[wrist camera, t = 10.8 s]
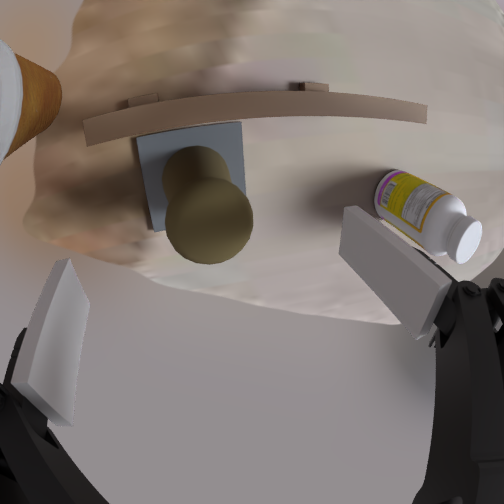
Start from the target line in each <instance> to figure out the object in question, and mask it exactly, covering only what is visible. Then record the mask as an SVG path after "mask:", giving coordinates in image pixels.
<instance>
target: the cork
mask: <svg viewBox="0 0 504 504" xmlns="http://www.w3.org/2000/svg"><path fill="white" fill-rule="evenodd" d="M162 185H163V190H164V193H165V195H166V198H167V200H168V203H169V204H168V206H167V210H166V216H165V228H166V233H167V237H168V239H169V240H170V242H171V244H172V246H173V247H174V249H175V250H176V251H177V252H178V253H179V254H180V255H182V256H183V257H184V258H185V259H188V260H190V261H193V262H195V263H200V264H209V265H210V264H216V263H222V262H224V261H226V260H228V259H231V258H232V257H234V256H235V255H236V254H237V253H238V252H240V251H241V250H242V249H243V247H244V246H245V244H246V243H247V242H248V240H249V239H250V235H251V232H252V229H253V211H252V208H251V205H250V203H249V200H248V198H247V197H246V196H245V195H244V193H243V192H242V191H241V190H240V189H239V188H238V187H237V186H236V185H234V184H233V183H232V181H231V177H230V173H229V169H228V167H227V164H226V162H225V160H224V159H223V158H222V156H221V155H220V154H219V153H218V152H216V151H214V150H213V149H211V148H209V147H204V146H199V145H197V146H189V147H186V148H183V149H181V150H179V151H177V152H176V153H175V154H174V155H173V156H172V157H171V158H169V160H168V162H167V163H166V165H165V167H164V169H163V174H162Z"/></svg>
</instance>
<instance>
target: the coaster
mask: <svg viewBox="0 0 504 504" xmlns="http://www.w3.org/2000/svg"><path fill="white" fill-rule="evenodd" d="M137 145H138V151H139V157H140V163H141V169H142V175H143V180H144V185H145V191H146V196H147V201H148V205H149V210H150V215H151V219H152V224H153V228H154V232H158V231H164V230H166V228H165V216H166V210H167V206H168V204H169V203H168V200H167V198H166V195H165V193H164V190H163V185H162V174H163V169H164V167H165V165H166V163H167V162H168V160H169V158H171V157H172V156H173V155H174V154H175V153H176V152H177V151H179V150H181V149H183V148H186V147H189V146H197V145H199V146H204V147H209V148H211V149H213V150H214V151H216V152H218V153H219V154H220V155H221V156H222V158H223V159H224V160H225V162H226V164H227V167H228V169H229V173H230V177H231V181H232V183H233V184H234V185H236V186H237V187H238V188H239V189H240V190H241V191H242V192H243V193H244V195H245V196H246V187H245V172H244V156H243V141H242V125H241V122H230V123H220V124H212V125H204V126H196V127H189V128H183V129H177V130H171V131H165V132H159V133H154V134H149V135H144V136H139V137H137Z"/></svg>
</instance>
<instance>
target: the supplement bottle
mask: <svg viewBox="0 0 504 504" xmlns="http://www.w3.org/2000/svg"><path fill="white" fill-rule="evenodd" d="M374 203H375V209H376V211H377V213H378V215H379V216H380V217H381V218H382V219H384V220H385V221H386V222H388V223H389V224H391V225H392V226H394V227H395V228H396V229H398V230H399V231H400V232H402V233H403V234H405V235H406V236H407V237H409V238H410V239H411V240H413V241H414V242H415V243H417V244H418V245H419V246H421V247H422V248H423V249H424V250H426V251H427V252H428V253H430V254H432V255H434V256H442V255H445V254H448V255H449V257H450V258H451V259H452V260H454V261H455V262H457V263H458V264H463V263H465V262H466V261H468V260H469V258H470V257H471V256H472V255H473V254H474V252H475V250H476V249H477V247H478V245H479V242H480V239H481V235H482V225H481V223H480V222H479V221H478V220H476V219H475V218H473V217H472V216H466V209H465V206H464V204H463V203H462V201H461V200H460V199H459V198H457V197H455V196H454V195H452V194H450V193H448V192H446V191H444V190H442V189H440V188H438V187H436V186H434V185H432V184H430V183H428V182H426V181H424V180H422V179H420V178H418V177H416V176H414V175H411V174H409V173H407V172H405V171H401V170H395V171H392V172H390V173H388V174H387V175H386V176H385V177H384V178H383V179H382V180H381V181H380V183H379V184H378V186H377V189H376V192H375V198H374Z"/></svg>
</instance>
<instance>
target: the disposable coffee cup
mask: <svg viewBox="0 0 504 504" xmlns="http://www.w3.org/2000/svg"><path fill="white" fill-rule="evenodd" d="M61 99H62V90H61V85H60V82H59V80H58V78H57V77H56V75H54V74H53V73H52V72H50V71H48V70H46V69H44V68H43V67H41V66H39V65H37V64H35V63H33V62H31V61H29V60H27V59H25V58H23V57H21V56H19V55H17V54H15V53H14V52H13V51H12V50H11V48H10V47H9V46H8V45H7V44H6V43H5V42H3V41H2V40H1V39H0V165H1V163H2V161H3V160H4V159H5V158H6V157H8V156H9V155H10V154H11V153H13V152H14V151H16V150H17V149H18V148H19V147H21V146H22V145H23V144H25V143H26V142H28V141H29V140H31V139H32V138H33V137H35V136H36V135H38V134H39V133H41V132H42V131H44V130H45V129H47V128H48V127H49V126H50V125H51V123H52V122H53V120H54V119H55V118H56V116H57V114H58V111H59V108H60V105H61Z"/></svg>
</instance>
